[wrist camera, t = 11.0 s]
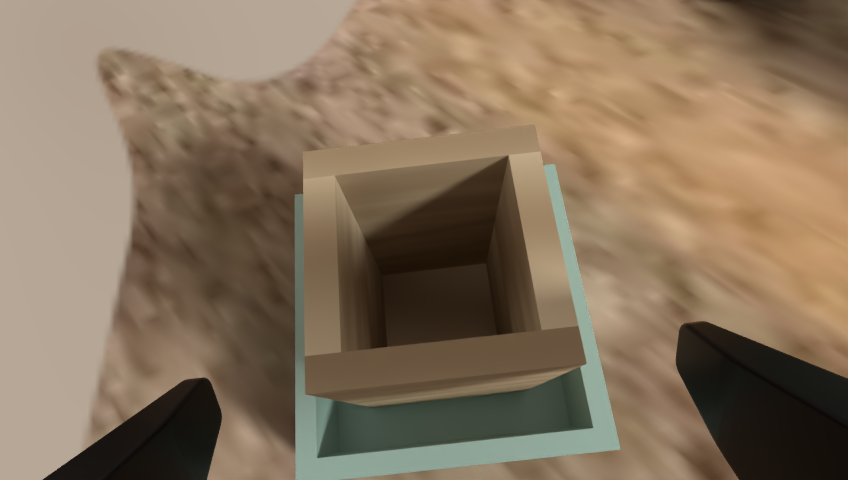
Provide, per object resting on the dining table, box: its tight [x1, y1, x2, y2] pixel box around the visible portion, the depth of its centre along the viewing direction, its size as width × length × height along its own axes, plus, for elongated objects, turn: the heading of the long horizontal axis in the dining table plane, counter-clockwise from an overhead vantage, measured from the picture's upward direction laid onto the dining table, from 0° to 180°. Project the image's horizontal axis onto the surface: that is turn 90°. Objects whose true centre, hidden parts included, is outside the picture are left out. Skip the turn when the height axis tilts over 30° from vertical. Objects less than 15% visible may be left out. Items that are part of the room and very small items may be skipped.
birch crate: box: [303, 125, 587, 408], centre depth 16 cm, size 6×6×10 cm
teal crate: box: [295, 164, 620, 480], centre depth 19 cm, size 10×10×4 cm
